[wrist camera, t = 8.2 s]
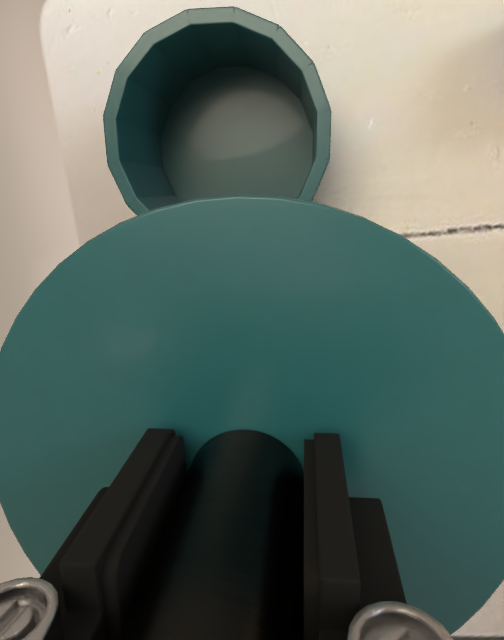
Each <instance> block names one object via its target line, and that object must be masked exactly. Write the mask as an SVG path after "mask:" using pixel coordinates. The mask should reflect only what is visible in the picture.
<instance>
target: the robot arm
mask: <svg viewBox="0 0 504 640" xmlns="http://www.w3.org/2000/svg"><path fill="white" fill-rule="evenodd" d="M185 477H186V461H185V448H184V439H183V436H176V433H175V430H174V429H160V428H148V429H147V430H146V432H145V433H144V435H143V436H142V438H141V439H140V441H139V442H138V444H137V445H136V447H135V448H134V450H133V451H132V453H131V454H130V456H129V458H128V459H127V461H126V462H125V464H124V465H123V467H122V468H121V470H120V471H119V473H118V474H117V476H116V477H115V479H114V480H113V482H112V483H111V485H110V486H109V487H104V488H102V489H101V490H100V491H99V492H98V493H97V495H96V496H95V497H94V499H93V500H92V502H91V503H90V505H89V506H88V508H87V509H86V511H85V512H84V514H83V515H82V516H81V518H80V519H79V521H78V522H77V524H76V525H75V527H74V528H73V530H72V531H71V533H70V534H69V536H68V537H67V538H66V540H65V541H64V543H63V544H62V546H61V547H60V549H59V550H58V552H57V553H56V555H55V556H54V557H53V559H52V560H51V562H50V563H49V565H48V566H47V568H46V569H45V571H44V572H43V574H42V575H41V577H40V578H32V577H28V578H18V579H14V580H10V581H7V582H4V583H1V584H0V640H118V639H119V637H120V634H121V632H122V630H123V627H124V625H125V622H126V620H127V617H128V615H129V613H130V610H131V608H132V605H133V603H134V601H135V598H136V596H137V593H138V591H139V588H140V586H141V584H142V581H143V579H144V576H145V574H146V572H147V569H148V567H149V564H150V562H151V559H152V557H153V555H154V552H155V550H156V547H157V545H158V543H159V540H160V538H161V535H162V533H163V531H164V528H165V526H166V523H167V521H168V518H169V516H170V514H171V511H172V509H173V506H174V504H175V502H176V499H177V497H178V494H179V492H180V489H181V487H182V485H183V482H184V480H185ZM304 640H453V638H452V637H451V635H450V634H449V633H448V632H447V630H446V629H445V628H444V626H443V625H442V624H441V623H440V622H438V621H437V620H436V619H435V618H433V617H432V616H431V615H430V614H428V613H427V612H425V611H423V610H421V609H419V608H417V607H415V606H413V605H409V604H407V602H406V598H405V594H404V590H403V586H402V582H401V578H400V574H399V570H398V566H397V562H396V558H395V554H394V550H393V546H392V542H391V538H390V533H389V529H388V525H387V521H386V517H385V513H384V509H383V505H382V502H381V500H380V499H379V498H361V497H348V490H347V483H346V476H345V469H344V461H343V454H342V447H341V440H340V434H339V433H314V439H304Z"/></svg>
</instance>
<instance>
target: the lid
mask: <svg viewBox="0 0 504 640" xmlns="http://www.w3.org/2000/svg"><path fill="white" fill-rule="evenodd" d="M148 428H160V429H174V430H175V433H176V436H183V439H184V448H185V461H186V477H185V480H184V482H183V485H182V487H181V489H180V492H179V494H178V497H177V499H176V502H175V504H174V506H173V509H172V511H171V514H170V516H169V518H168V521H167V523H166V526H165V528H164V531H163V533H162V535H161V538H160V540H159V543H158V545H157V547H156V550H155V552H154V555H153V557H152V559H151V562H150V564H149V567H148V569H147V572H146V574H145V576H144V579H143V581H142V584H141V586H140V588H139V591H138V593H137V596H136V598H135V601H134V603H133V605H132V608H131V610H130V613H129V615H128V617H127V620H126V622H125V625H124V627H123V630H122V632H121V634H120V637H119V639H118V640H304V439H314V433H339V434H340V440H341V447H342V454H343V461H344V469H345V476H346V483H347V490H348V497H361V498H379V499H380V500H381V502H382V505H383V509H384V513H385V517H386V521H387V525H388V529H389V533H390V538H391V542H392V546H393V550H394V554H395V558H396V562H397V566H398V570H399V574H400V578H401V582H402V586H403V590H404V594H405V598H406V602H407V604H409V605H413V606H415V607H417V608H419V609H421V610H423V611H425V612H427V613H428V614H430V615H431V616H432V617H433V618H435V619H436V620H437V621H438V622H440V623H441V624H442V625H443V626H444V628H445V629H446V630H447V632H448V633H449V634H450V635H451V634H452V633H454V632H455V631H456V630H458V629H459V628H460V627H461V626H462V625H463V624H464V623H466V622H467V621H468V620H469V619H470V618H471V617H472V616H473V615H474V614H475V613H476V612H477V611H478V610H479V609H480V608H481V607H482V606H483V605H484V604H485V603H486V601H487V600H488V599H489V598H490V597H491V595H492V594H493V593H494V592H495V590H496V589H497V588H498V587H499V585H500V584H501V583H502V581H503V580H504V333H503V331H502V330H501V328H500V327H499V325H498V323H497V322H496V320H495V318H494V317H493V316H492V315H491V313H490V312H489V311H488V310H487V309H486V308H485V306H484V305H483V304H482V303H481V302H480V300H479V299H478V298H477V297H476V296H475V295H474V293H473V292H472V291H471V290H470V289H469V287H468V286H467V285H465V284H464V283H463V282H462V281H461V280H460V279H459V278H458V277H456V276H455V275H454V274H453V273H452V272H451V271H450V270H449V269H447V268H446V267H445V266H444V265H443V264H442V263H441V262H440V261H438V260H437V259H436V258H434V257H433V256H431V255H430V254H428V253H427V252H425V251H424V250H422V249H421V248H419V247H418V246H416V245H415V244H413V243H412V242H410V241H409V240H407V239H406V238H404V237H403V236H401V235H399V234H397V233H395V232H393V231H391V230H388V229H386V228H384V227H382V226H380V225H378V224H376V223H374V222H372V221H370V220H368V219H366V218H363V217H361V216H358V215H355V214H352V213H349V212H346V211H343V210H340V209H337V208H334V207H330V206H327V205H324V204H321V203H315V202H310V201H304V200H298V199H293V198H287V197H281V196H259V195H231V196H221V197H210V198H200V199H193V200H189V201H185V202H181V203H177V204H173V205H168V206H164V207H160V208H156V209H154V210H151V211H149V212H146V213H144V214H141V215H139V216H136V217H133V218H131V219H128V220H126V221H123V222H121V223H119V224H117V225H115V226H114V227H112V228H110V229H108V230H107V231H105V232H103V233H102V234H100V235H98V236H96V237H95V238H93V239H91V240H89V241H88V242H86V243H85V244H84V245H83V246H81V247H80V248H79V249H77V250H76V251H75V252H74V253H72V254H71V255H70V256H69V257H67V258H66V259H65V260H64V261H62V262H61V263H60V264H59V265H58V266H57V267H56V268H55V269H54V270H53V271H52V272H51V273H50V274H49V276H48V277H46V279H45V280H44V281H43V282H42V283H41V284H40V285H39V286H38V287H37V288H36V289H35V291H34V292H33V294H32V295H31V296H30V298H29V299H28V301H27V302H26V304H25V305H24V307H23V308H22V310H21V311H20V312H19V314H18V315H17V317H16V319H15V321H14V323H13V325H12V327H11V329H10V331H9V333H8V335H7V337H6V339H5V342H4V343H3V346H2V348H1V351H0V503H1V506H2V508H3V510H4V513H5V515H6V518H7V521H8V523H9V525H10V527H11V529H12V531H13V533H14V535H15V537H16V538H17V540H18V542H19V544H20V545H21V547H22V549H23V551H24V553H25V554H26V556H27V557H28V558H29V560H30V561H31V563H32V564H33V565H34V567H35V568H36V569H37V571H38V572H39V574H40V575H42V574H43V572H44V571H45V569H46V568H47V566H48V565H49V563H50V562H51V560H52V559H53V557H54V556H55V555H56V553H57V552H58V550H59V549H60V547H61V546H62V544H63V543H64V541H65V540H66V538H67V537H68V536H69V534H70V533H71V531H72V530H73V528H74V527H75V525H76V524H77V522H78V521H79V519H80V518H81V516H82V515H83V514H84V512H85V511H86V509H87V508H88V506H89V505H90V503H91V502H92V500H93V499H94V497H95V496H96V495H97V493H98V492H99V491H100V490H101V489H102V488H104V487H109V486H110V485H111V483H112V482H113V480H114V479H115V477H116V476H117V474H118V473H119V471H120V470H121V468H122V467H123V465H124V464H125V462H126V461H127V459H128V458H129V456H130V454H131V453H132V451H133V450H134V448H135V447H136V445H137V444H138V442H139V441H140V439H141V438H142V436H143V435H144V433H145V432H146V430H147V429H148Z"/></svg>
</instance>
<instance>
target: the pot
mask: <svg viewBox="0 0 504 640" xmlns="http://www.w3.org/2000/svg"><path fill="white" fill-rule="evenodd" d="M103 117H104V118H103V121H104V132H105V143H106V154H107V163H108V167H109V169H110V171H111V173H112V175H113V177H114V179H115V181H116V184H117V186H118V188H119V190H120V192H121V194H122V196H123V198H124V200H125V202H126V204H127V205H128V207H129V208H130V209H131V210H132V211H133V212H134V213H135V214H136V215H137V216H139V215H141V214H144V213H146V212H149V211H151V210H154V209H156V208H160V207H164V206H168V205H173V204H177V203H181V202H185V201H189V200H193V199H200V198H210V197H221V196H231V195H259V196H281V197H287V198H293V199H298V200H304V201H310V202H312V201H313V198H314V196H315V193H316V191H317V189H318V186H319V184H320V182H321V179H322V177H323V175H324V172H325V170H326V167H327V165H328V163H329V159H330V136H331V108H330V105H329V102H328V100H327V97H326V94H325V91H324V88H323V86H322V83H321V80H320V77H319V75H318V72H317V69H316V66H315V64H314V63H313V61H312V60H311V58H310V57H309V56H308V55H307V54H306V53H305V52H304V51H303V50H302V49H301V48H300V47H299V45H298V44H297V43H296V42H295V41H294V40H293V39H292V38H291V37H290V36H289V35H288V34H287V32H286V31H285V30H284V29H283V28H282V27H279V25H278V24H275V23H273V22H271V21H268V20H266V19H264V18H261V17H259V16H256V15H254V14H252V13H249V12H247V11H244V10H242V9H240V8H237V7H216V8H197V9H188V10H184V11H182V12H181V13H179V14H177V15H175V16H173V17H171V18H170V19H168V20H166V21H164V22H162V23H160V24H159V25H157V26H155V27H153V28H151V29H149V30H148V31H146V33H144V34H143V35H142V36H141V38H140V39H139V40H138V42H137V43H136V44H135V46H134V47H133V48H132V49H131V51H130V52H129V53H128V55H127V56H126V57H125V59H124V60H123V61H122V63H121V64H120V65H119V67H118V68H117V69H116V71H115V75H114V78H113V82H112V85H111V89H110V93H109V96H108V100H107V104H106V107H105V111H104V115H103Z"/></svg>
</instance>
